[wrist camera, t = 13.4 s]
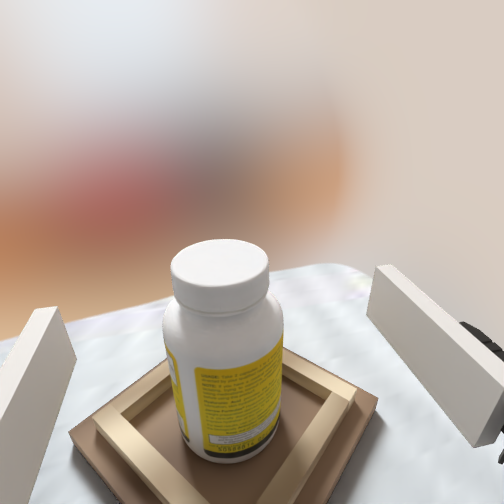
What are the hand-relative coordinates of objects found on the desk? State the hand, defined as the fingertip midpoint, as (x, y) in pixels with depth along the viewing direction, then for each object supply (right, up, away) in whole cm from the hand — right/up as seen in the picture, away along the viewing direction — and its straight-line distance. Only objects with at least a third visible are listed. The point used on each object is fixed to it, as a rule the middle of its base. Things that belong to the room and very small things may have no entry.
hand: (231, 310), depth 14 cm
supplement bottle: (0, -7, +4) cm, 8 cm away
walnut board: (0, -7, +5) cm, 9 cm away
